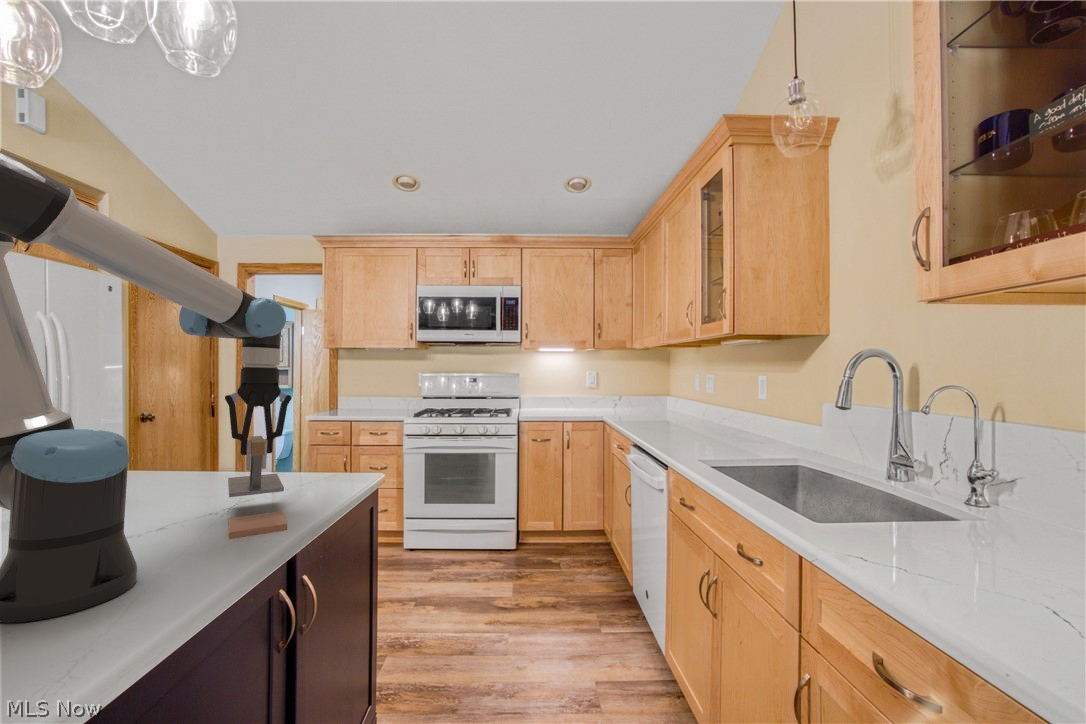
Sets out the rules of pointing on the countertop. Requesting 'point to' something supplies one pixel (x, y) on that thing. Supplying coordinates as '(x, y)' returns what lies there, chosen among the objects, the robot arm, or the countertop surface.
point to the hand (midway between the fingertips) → (255, 468)
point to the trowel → (255, 475)
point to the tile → (256, 524)
